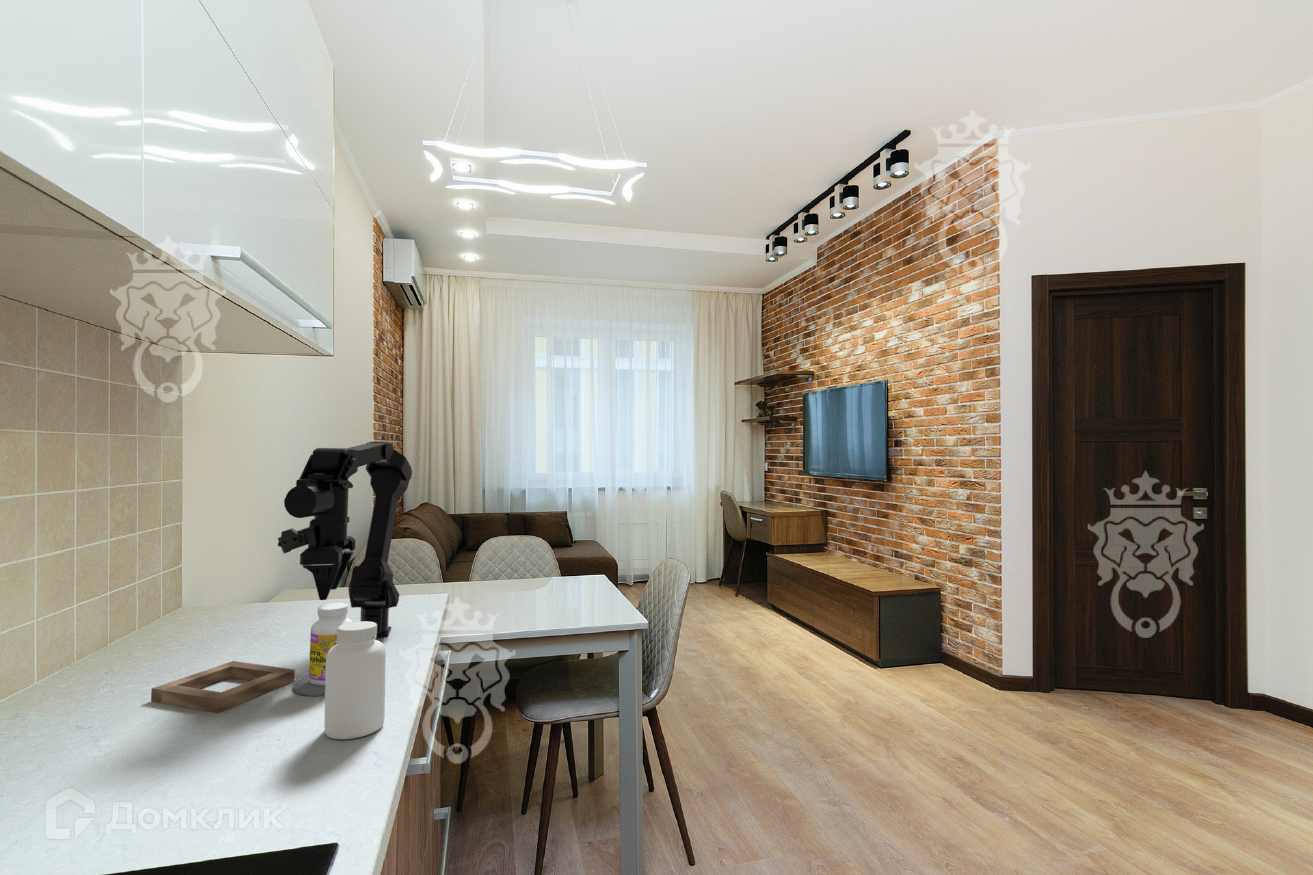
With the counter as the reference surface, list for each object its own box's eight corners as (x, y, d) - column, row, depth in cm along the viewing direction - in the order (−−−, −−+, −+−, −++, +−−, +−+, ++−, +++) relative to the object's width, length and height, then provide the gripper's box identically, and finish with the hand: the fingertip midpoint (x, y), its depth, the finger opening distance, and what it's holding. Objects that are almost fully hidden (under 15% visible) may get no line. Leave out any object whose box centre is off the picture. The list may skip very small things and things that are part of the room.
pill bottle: (354, 713, 95) (357, 616, 96) (396, 722, 92) (399, 621, 93) (310, 735, 88) (313, 629, 88) (354, 745, 85) (357, 635, 85)
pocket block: (232, 671, 112) (233, 660, 112) (294, 680, 108) (294, 669, 108) (150, 701, 98) (151, 688, 99) (217, 712, 95) (218, 699, 95)
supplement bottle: (299, 683, 105) (301, 608, 105) (331, 671, 111) (333, 599, 112) (329, 689, 103) (332, 612, 103) (360, 676, 109) (362, 603, 110)
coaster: (302, 675, 111) (303, 672, 111) (369, 670, 114) (369, 667, 114) (285, 699, 100) (285, 695, 100) (359, 692, 103) (359, 688, 103)
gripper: (296, 509, 125) (294, 586, 125) (268, 518, 107) (265, 608, 107) (356, 508, 128) (354, 583, 128) (339, 517, 110) (336, 605, 110)
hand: (328, 594), depth 118 cm, fingers open, 9 cm apart
